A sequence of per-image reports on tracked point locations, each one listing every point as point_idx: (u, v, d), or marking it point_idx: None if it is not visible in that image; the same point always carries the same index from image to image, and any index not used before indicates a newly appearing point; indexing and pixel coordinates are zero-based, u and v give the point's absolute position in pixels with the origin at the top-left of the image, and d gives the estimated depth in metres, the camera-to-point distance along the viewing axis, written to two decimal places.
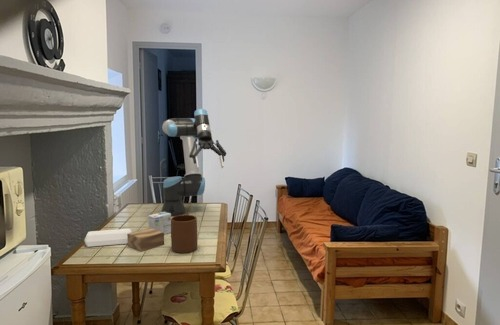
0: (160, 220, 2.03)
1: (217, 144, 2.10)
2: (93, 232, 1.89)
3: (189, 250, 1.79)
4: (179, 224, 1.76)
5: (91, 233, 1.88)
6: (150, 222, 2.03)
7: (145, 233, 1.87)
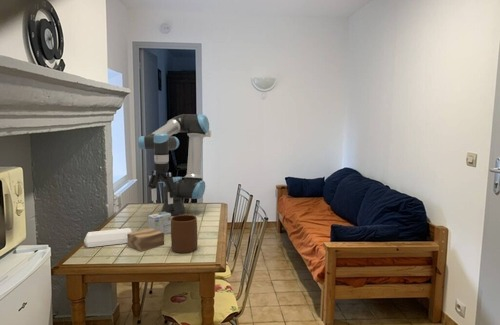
0: (160, 220, 2.03)
1: (167, 178, 1.99)
2: (93, 232, 1.88)
3: (189, 250, 1.79)
4: (179, 224, 1.76)
5: (91, 233, 1.88)
6: (150, 222, 2.03)
7: (145, 233, 1.87)
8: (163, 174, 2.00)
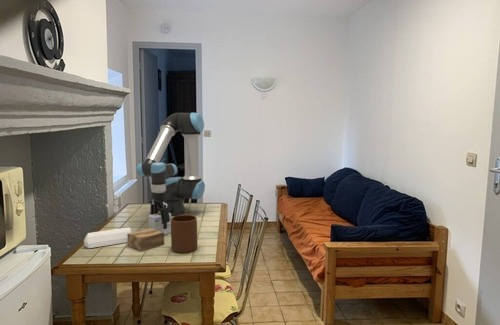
0: (160, 220, 2.03)
1: (163, 209, 2.01)
2: (93, 233, 1.87)
3: (189, 250, 1.79)
4: (179, 224, 1.76)
5: (92, 234, 1.87)
6: (150, 222, 2.03)
7: (145, 233, 1.87)
8: (160, 203, 2.02)
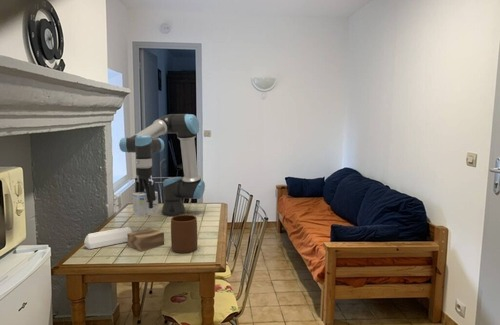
0: (146, 198, 1.84)
1: (148, 186, 1.82)
2: (94, 234, 1.86)
3: (189, 250, 1.79)
4: (179, 224, 1.76)
5: (92, 235, 1.86)
6: (134, 201, 1.84)
7: (145, 233, 1.87)
8: (145, 179, 1.84)
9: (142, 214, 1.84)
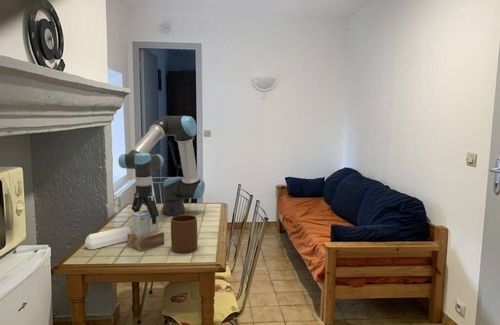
0: (146, 218, 1.84)
1: (149, 202, 1.82)
2: (95, 234, 1.86)
3: (189, 250, 1.79)
4: (179, 224, 1.76)
5: (94, 235, 1.85)
6: (134, 220, 1.84)
7: None
8: (145, 198, 1.83)
9: (142, 234, 1.84)
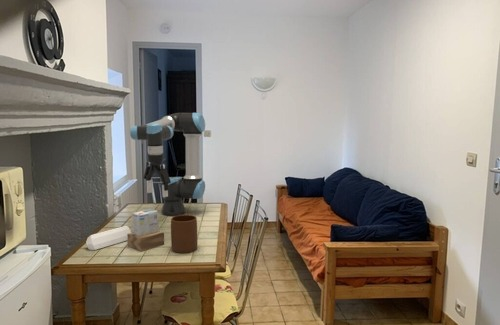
0: (146, 218, 1.84)
1: (161, 170, 1.90)
2: (96, 235, 1.85)
3: (189, 250, 1.79)
4: (179, 224, 1.76)
5: (95, 236, 1.84)
6: (134, 220, 1.84)
7: None
8: (157, 166, 1.92)
9: (142, 234, 1.84)
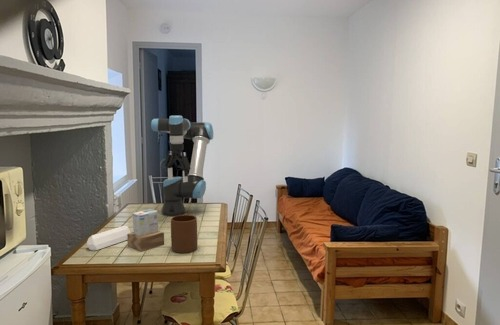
0: (146, 218, 1.84)
1: (182, 157, 2.10)
2: (97, 235, 1.85)
3: (189, 250, 1.79)
4: (179, 224, 1.76)
5: (96, 236, 1.84)
6: (134, 220, 1.84)
7: None
8: (178, 154, 2.12)
9: (142, 234, 1.84)
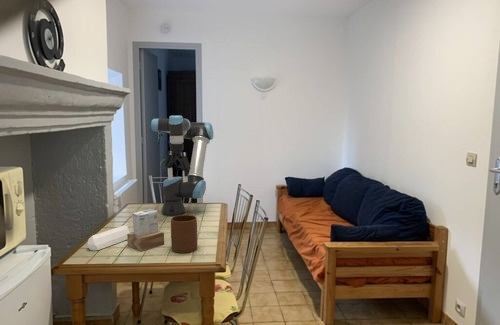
0: (146, 218, 1.84)
1: (182, 157, 2.10)
2: (97, 235, 1.84)
3: (189, 250, 1.79)
4: (179, 224, 1.76)
5: (96, 236, 1.84)
6: (134, 220, 1.84)
7: None
8: (178, 154, 2.12)
9: (142, 234, 1.84)
